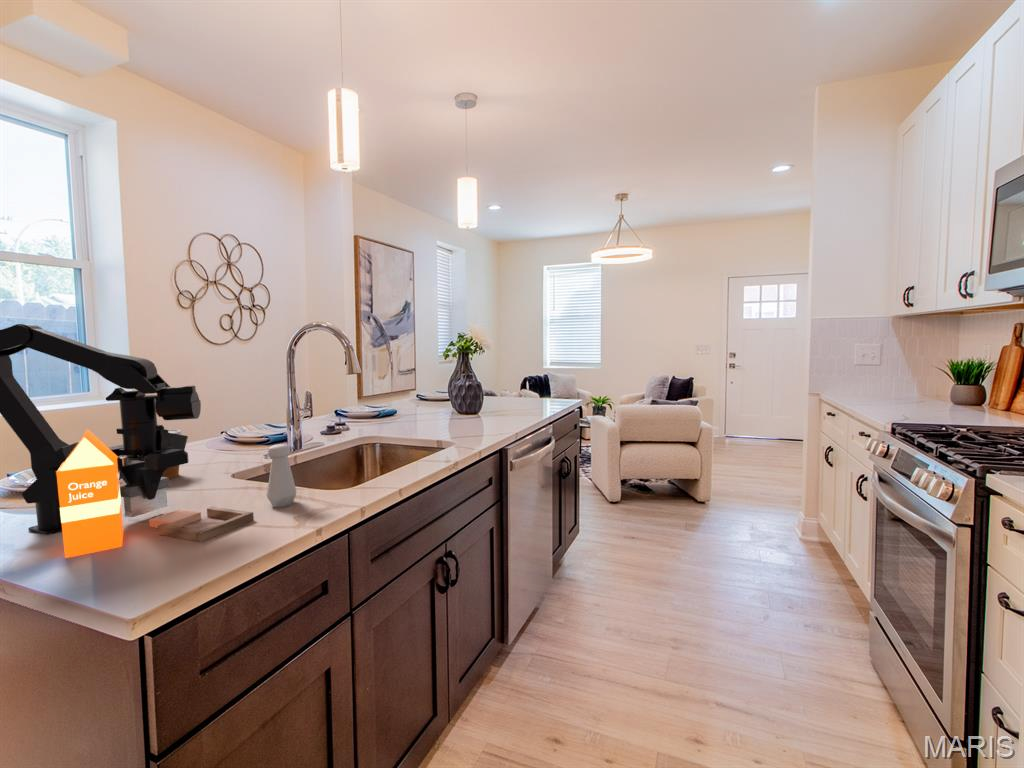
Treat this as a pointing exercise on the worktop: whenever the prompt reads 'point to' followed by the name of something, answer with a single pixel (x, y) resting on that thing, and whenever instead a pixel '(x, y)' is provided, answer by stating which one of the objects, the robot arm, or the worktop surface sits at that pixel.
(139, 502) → the grey block
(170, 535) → the bay
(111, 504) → the orange juice
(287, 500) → the salt shaker
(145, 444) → the robot arm
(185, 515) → the tile
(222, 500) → the worktop surface
